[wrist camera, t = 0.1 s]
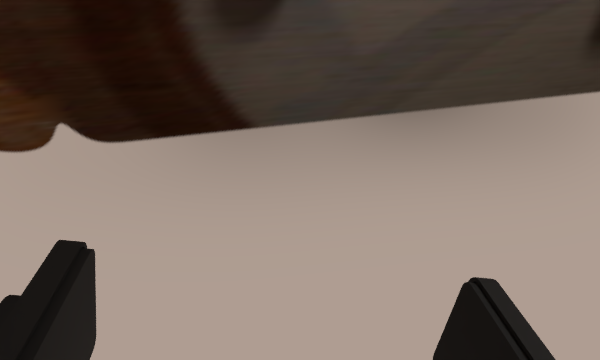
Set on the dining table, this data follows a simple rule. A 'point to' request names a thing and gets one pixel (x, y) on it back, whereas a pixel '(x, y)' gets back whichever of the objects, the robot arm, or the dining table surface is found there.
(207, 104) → the dining table surface
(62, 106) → the dining table surface
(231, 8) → the dining table surface
